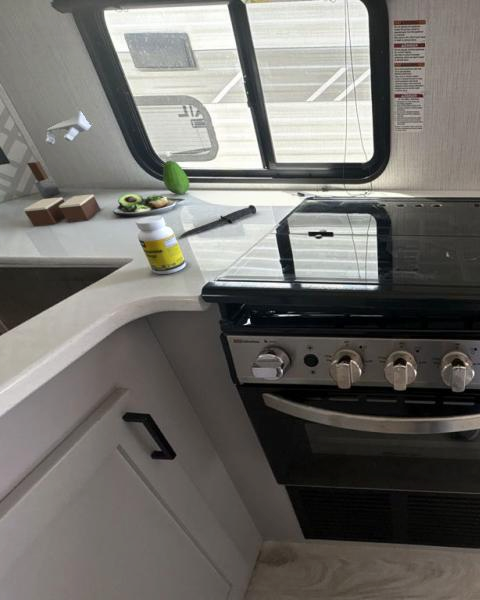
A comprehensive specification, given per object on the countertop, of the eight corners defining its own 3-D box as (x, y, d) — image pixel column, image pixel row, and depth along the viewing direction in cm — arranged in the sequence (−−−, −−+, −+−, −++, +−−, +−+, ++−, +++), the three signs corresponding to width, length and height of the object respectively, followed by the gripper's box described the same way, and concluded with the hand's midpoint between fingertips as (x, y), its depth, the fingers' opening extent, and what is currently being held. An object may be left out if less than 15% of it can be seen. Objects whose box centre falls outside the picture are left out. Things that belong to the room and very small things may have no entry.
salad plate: (189, 198, 120) (184, 185, 118) (183, 212, 106) (178, 197, 104) (126, 205, 114) (119, 191, 111) (111, 220, 100) (103, 205, 97)
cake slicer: (50, 198, 123) (30, 164, 117) (42, 199, 122) (21, 164, 116) (61, 192, 131) (43, 159, 124) (53, 192, 130) (35, 160, 124)
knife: (250, 209, 105) (251, 202, 103) (260, 218, 104) (261, 212, 102) (170, 231, 88) (169, 224, 86) (180, 243, 87) (180, 236, 85)
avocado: (185, 196, 122) (173, 162, 116) (164, 196, 123) (151, 162, 116) (197, 191, 129) (186, 158, 123) (177, 191, 129) (165, 158, 123)
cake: (88, 220, 101) (79, 203, 98) (33, 226, 96) (23, 209, 94) (100, 209, 110) (93, 194, 107) (51, 214, 106) (42, 199, 103)
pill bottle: (146, 274, 70) (122, 223, 64) (169, 261, 75) (149, 213, 69) (171, 276, 68) (149, 225, 63) (193, 263, 74) (174, 215, 68)
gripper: (42, 109, 125) (28, 138, 121) (82, 100, 120) (68, 130, 116) (62, 123, 131) (49, 151, 127) (100, 114, 126) (88, 143, 122)
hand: (58, 141), depth 121 cm, fingers open, 8 cm apart
